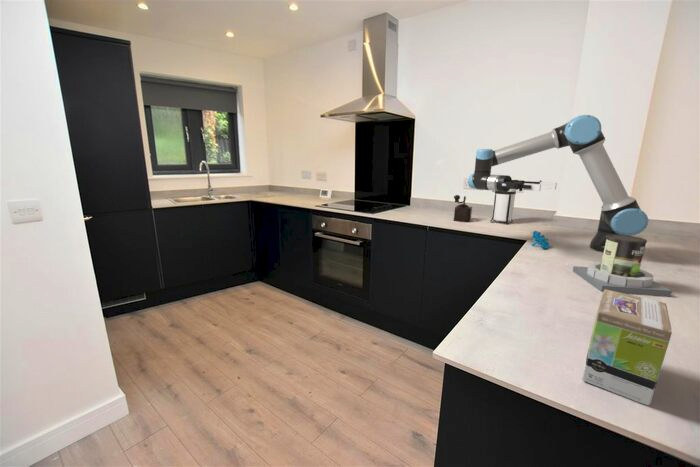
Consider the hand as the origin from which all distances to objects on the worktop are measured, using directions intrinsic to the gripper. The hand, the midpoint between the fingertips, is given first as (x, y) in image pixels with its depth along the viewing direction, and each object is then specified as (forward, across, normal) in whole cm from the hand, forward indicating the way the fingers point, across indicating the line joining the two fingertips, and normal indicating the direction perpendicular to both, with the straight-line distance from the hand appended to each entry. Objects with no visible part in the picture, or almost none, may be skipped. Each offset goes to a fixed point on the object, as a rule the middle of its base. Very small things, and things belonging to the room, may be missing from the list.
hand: (548, 186), depth 131 cm
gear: (-6, -16, -30) cm, 35 cm away
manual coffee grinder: (-68, -38, -30) cm, 83 cm away
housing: (+30, +9, -30) cm, 43 cm away
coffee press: (-51, -58, -30) cm, 83 cm away
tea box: (+48, +68, -30) cm, 88 cm away
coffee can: (+30, +9, -28) cm, 42 cm away
